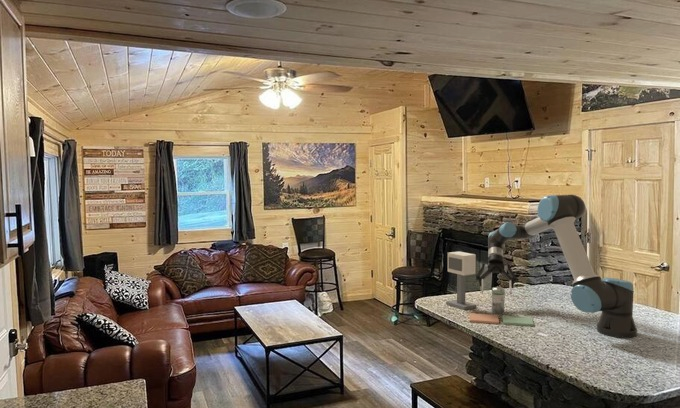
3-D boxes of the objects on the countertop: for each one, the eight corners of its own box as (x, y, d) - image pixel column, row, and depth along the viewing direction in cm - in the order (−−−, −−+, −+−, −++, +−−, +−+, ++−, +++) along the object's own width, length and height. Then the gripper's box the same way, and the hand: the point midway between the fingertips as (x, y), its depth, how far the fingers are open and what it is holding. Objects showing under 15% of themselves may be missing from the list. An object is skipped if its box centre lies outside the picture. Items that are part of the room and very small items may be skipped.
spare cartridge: (504, 314, 243) (505, 290, 242) (491, 313, 245) (492, 289, 244) (504, 311, 249) (504, 287, 248) (491, 310, 250) (491, 286, 250)
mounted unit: (463, 310, 251) (463, 256, 249) (445, 304, 262) (446, 252, 261) (476, 307, 256) (477, 254, 254) (458, 301, 267) (459, 251, 265)
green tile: (533, 326, 224) (533, 324, 224) (503, 324, 227) (503, 322, 227) (531, 319, 235) (531, 317, 235) (502, 317, 238) (502, 315, 238)
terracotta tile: (498, 323, 228) (498, 321, 228) (469, 321, 231) (469, 319, 231) (497, 317, 239) (497, 315, 239) (469, 315, 242) (469, 313, 242)
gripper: (520, 262, 263) (522, 297, 249) (471, 260, 269) (470, 294, 256) (521, 254, 257) (523, 289, 244) (471, 252, 264) (470, 286, 251)
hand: (496, 292), depth 250 cm, fingers open, 13 cm apart
